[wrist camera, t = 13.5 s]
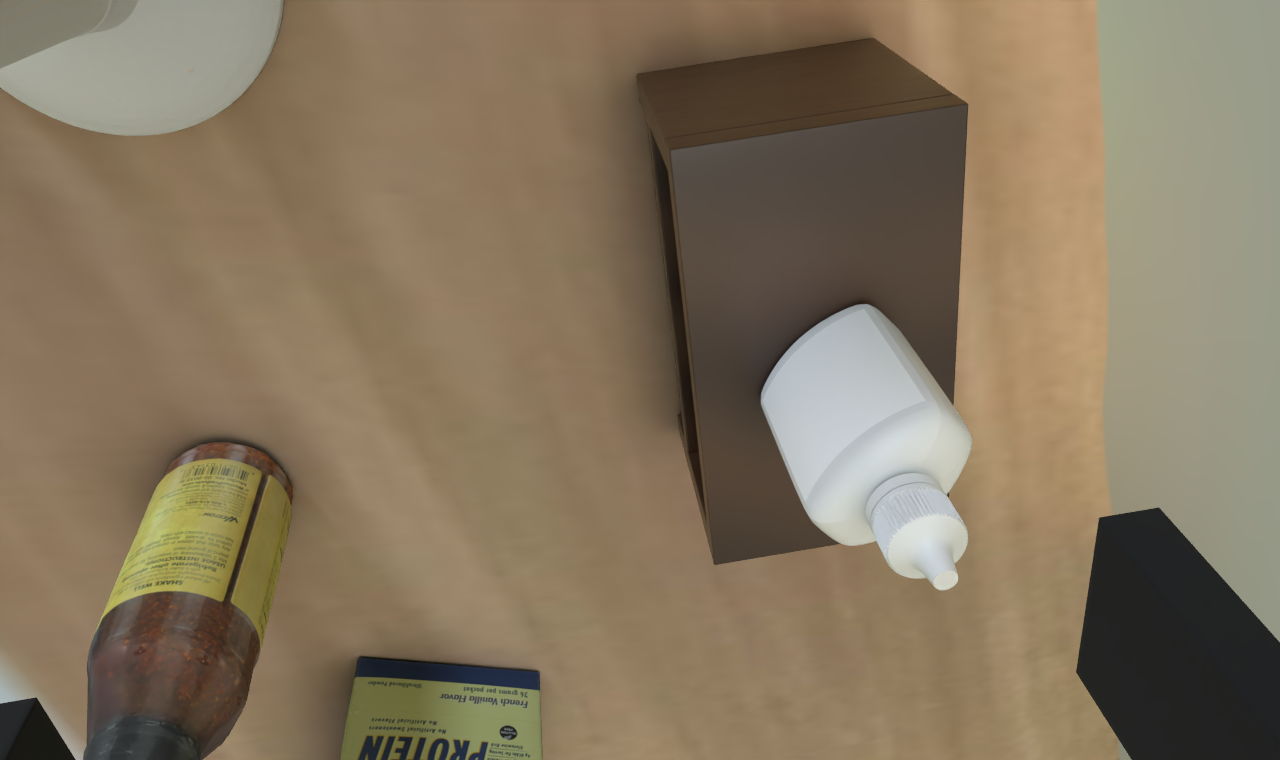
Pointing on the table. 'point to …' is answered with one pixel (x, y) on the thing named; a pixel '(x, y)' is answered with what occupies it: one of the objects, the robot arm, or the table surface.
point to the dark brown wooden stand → (795, 247)
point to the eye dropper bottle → (871, 442)
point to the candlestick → (134, 59)
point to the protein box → (442, 713)
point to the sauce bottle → (189, 608)
